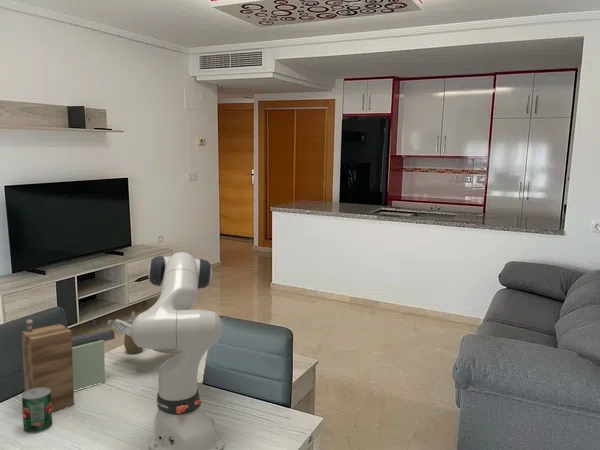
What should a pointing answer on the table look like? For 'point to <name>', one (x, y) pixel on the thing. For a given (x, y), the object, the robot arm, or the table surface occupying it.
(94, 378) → the pale green block
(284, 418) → the table surface
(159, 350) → the robot arm
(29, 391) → the canned tomato
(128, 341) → the squeeze bottle
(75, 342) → the strut
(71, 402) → the tower
